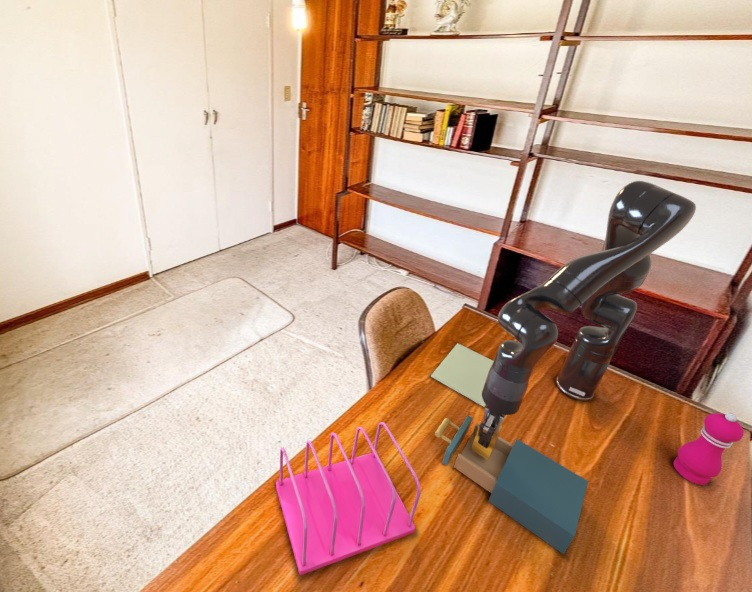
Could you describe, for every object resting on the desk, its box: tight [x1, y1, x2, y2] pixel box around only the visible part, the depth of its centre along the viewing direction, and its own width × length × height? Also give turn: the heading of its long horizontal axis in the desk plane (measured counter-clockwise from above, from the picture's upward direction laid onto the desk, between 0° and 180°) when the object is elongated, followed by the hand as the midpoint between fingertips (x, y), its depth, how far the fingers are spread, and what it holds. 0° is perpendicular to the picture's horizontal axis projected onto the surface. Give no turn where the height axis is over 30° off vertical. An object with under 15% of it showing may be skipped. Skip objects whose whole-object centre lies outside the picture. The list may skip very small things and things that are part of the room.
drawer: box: [434, 414, 514, 494], centre depth 95 cm, size 18×13×5 cm
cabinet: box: [488, 438, 589, 555], centre depth 86 cm, size 15×15×7 cm
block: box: [471, 420, 503, 460], centre depth 91 cm, size 3×4×9 cm
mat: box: [430, 342, 494, 408], centre depth 121 cm, size 20×16×1 cm
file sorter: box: [275, 421, 422, 576], centre depth 81 cm, size 17×25×16 cm
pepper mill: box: [672, 412, 744, 486], centre depth 90 cm, size 7×7×20 cm
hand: (485, 439), depth 92 cm, fingers closed on block, 3 cm apart
